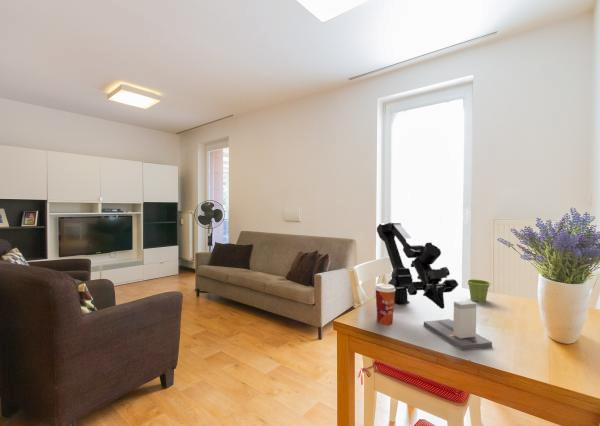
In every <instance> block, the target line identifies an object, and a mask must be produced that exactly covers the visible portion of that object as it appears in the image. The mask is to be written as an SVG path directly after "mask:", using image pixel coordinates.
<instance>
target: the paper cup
mask: <svg viewBox="0 0 600 426" xmlns="http://www.w3.org/2000/svg"><path fill="white" fill-rule="evenodd" d="M374 290H375V299H376V300H375V303H376V304H375V305H376V306H375V307H376V320H377V323H378V324H380V325H385V326H389V325H392V324H393V321H394V320H393V319H394V309H395V308H394V307H395V303H394V296H395V291H396V289H395V287H394V286H393V285H391V284H388V283H377V284H376V285H375V287H374Z"/></svg>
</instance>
